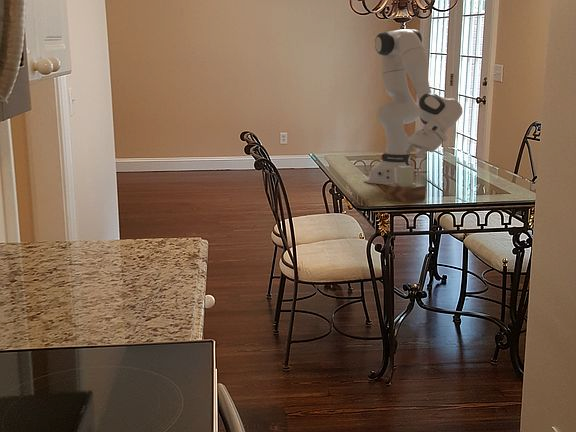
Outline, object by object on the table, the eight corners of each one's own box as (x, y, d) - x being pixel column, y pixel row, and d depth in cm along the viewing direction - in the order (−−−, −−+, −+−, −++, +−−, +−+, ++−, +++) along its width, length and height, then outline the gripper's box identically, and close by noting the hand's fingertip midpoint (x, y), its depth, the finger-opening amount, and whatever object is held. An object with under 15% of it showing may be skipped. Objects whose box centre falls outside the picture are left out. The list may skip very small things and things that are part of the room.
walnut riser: (385, 198, 305) (385, 184, 304) (403, 195, 312) (404, 181, 311) (406, 202, 296) (407, 188, 295) (425, 199, 304) (425, 185, 302)
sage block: (401, 186, 299) (402, 168, 297) (395, 184, 305) (396, 165, 303) (415, 186, 301) (416, 167, 299) (409, 183, 307) (410, 165, 305)
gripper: (417, 123, 310) (396, 146, 309) (440, 128, 291) (417, 153, 290) (426, 133, 312) (405, 156, 312) (449, 139, 293) (427, 163, 293)
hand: (411, 154), depth 301 cm, fingers open, 8 cm apart
